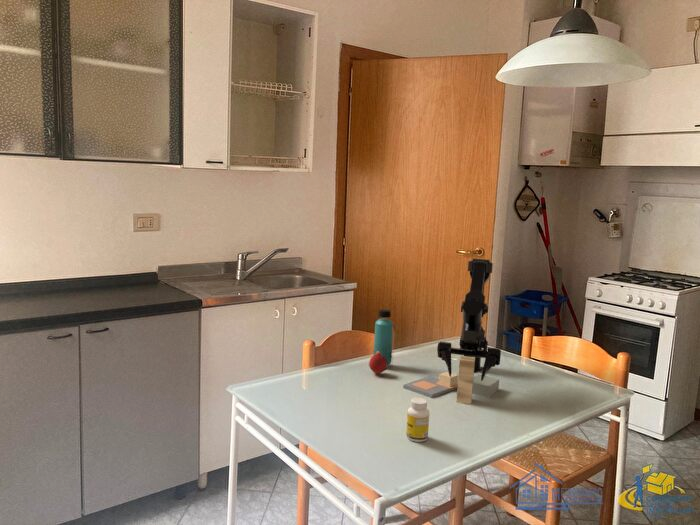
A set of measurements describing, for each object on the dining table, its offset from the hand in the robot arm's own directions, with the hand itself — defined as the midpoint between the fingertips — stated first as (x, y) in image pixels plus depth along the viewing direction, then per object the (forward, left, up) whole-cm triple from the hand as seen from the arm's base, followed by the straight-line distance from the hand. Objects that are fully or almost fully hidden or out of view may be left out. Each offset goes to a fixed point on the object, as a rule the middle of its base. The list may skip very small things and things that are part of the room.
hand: (465, 378), depth 172 cm
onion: (+2, -32, -7) cm, 33 cm away
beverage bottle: (-6, -37, -7) cm, 39 cm away
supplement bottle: (+31, +7, -7) cm, 33 cm away
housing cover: (-13, -1, -7) cm, 15 cm away
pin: (-1, 0, -7) cm, 7 cm away
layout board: (-2, -13, -7) cm, 15 cm away
